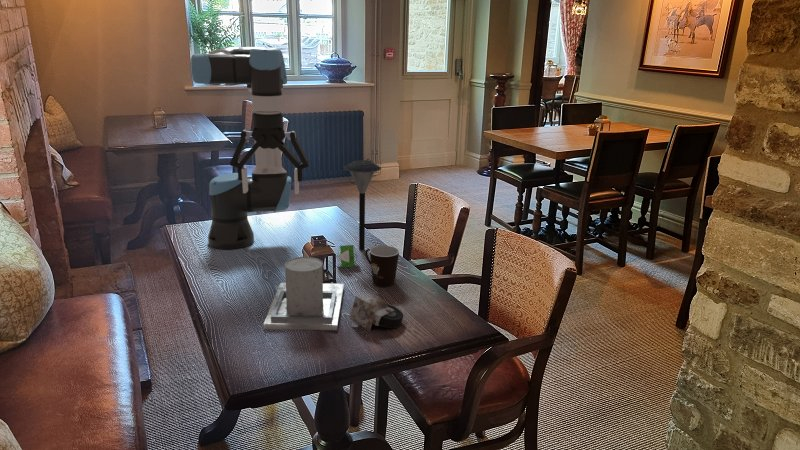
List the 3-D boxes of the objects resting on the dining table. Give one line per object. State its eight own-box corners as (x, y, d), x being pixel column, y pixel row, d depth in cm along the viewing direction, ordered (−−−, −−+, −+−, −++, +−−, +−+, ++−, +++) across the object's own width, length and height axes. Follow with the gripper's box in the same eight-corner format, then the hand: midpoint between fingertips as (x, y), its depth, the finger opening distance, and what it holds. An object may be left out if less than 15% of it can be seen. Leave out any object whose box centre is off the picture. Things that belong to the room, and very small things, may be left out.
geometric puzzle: (334, 253, 183) (336, 240, 176) (355, 252, 185) (358, 238, 178) (336, 273, 179) (339, 260, 173) (358, 271, 181) (361, 258, 174)
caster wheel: (404, 330, 147) (383, 341, 139) (370, 310, 152) (347, 319, 144) (411, 307, 145) (390, 317, 137) (377, 288, 150) (354, 296, 142)
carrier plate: (280, 287, 163) (279, 266, 161) (343, 288, 164) (343, 267, 161) (263, 329, 140) (262, 305, 138) (337, 330, 141) (337, 306, 139)
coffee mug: (402, 286, 166) (403, 254, 163) (374, 290, 163) (374, 257, 160) (389, 271, 176) (390, 241, 173) (362, 274, 173) (363, 243, 170)
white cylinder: (303, 319, 142) (301, 274, 138) (278, 307, 148) (276, 264, 144) (331, 307, 149) (330, 263, 145) (306, 295, 155) (305, 253, 151)
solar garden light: (365, 259, 185) (366, 168, 175) (336, 250, 191) (335, 163, 182) (386, 248, 195) (388, 162, 185) (358, 240, 201) (358, 156, 191)
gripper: (318, 111, 149) (319, 189, 156) (222, 108, 148) (227, 187, 155) (315, 115, 142) (316, 197, 149) (213, 112, 141) (220, 195, 148)
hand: (271, 192), depth 152 cm, fingers open, 13 cm apart
